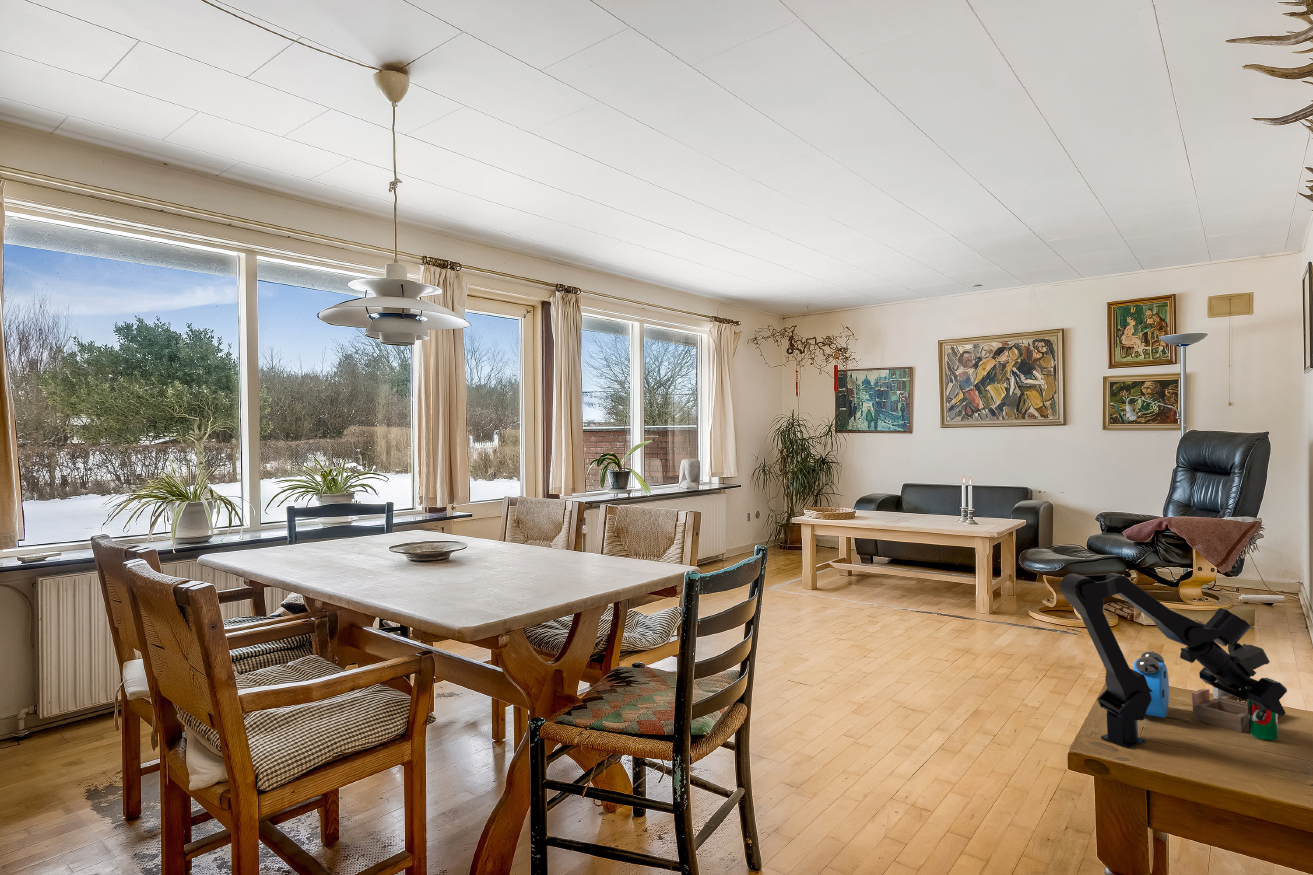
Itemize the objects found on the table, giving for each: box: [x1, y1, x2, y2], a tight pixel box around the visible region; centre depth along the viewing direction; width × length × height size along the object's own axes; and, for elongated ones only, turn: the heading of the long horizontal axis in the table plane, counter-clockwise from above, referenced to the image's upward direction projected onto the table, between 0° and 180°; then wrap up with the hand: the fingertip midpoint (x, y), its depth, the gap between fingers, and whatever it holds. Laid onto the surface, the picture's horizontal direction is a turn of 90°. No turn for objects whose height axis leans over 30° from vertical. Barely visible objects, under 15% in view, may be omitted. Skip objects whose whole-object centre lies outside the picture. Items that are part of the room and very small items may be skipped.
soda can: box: [1246, 688, 1280, 742], centre depth 159 cm, size 5×5×12 cm
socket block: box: [1191, 686, 1281, 733], centre depth 171 cm, size 19×10×6 cm, turn 117°
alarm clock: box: [1132, 650, 1170, 719], centre depth 174 cm, size 13×6×15 cm, turn 137°
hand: (1268, 707), depth 159 cm, fingers open, 8 cm apart
